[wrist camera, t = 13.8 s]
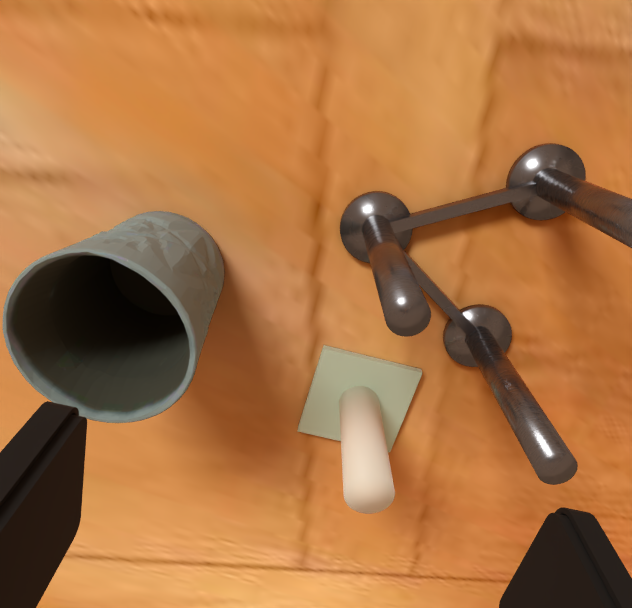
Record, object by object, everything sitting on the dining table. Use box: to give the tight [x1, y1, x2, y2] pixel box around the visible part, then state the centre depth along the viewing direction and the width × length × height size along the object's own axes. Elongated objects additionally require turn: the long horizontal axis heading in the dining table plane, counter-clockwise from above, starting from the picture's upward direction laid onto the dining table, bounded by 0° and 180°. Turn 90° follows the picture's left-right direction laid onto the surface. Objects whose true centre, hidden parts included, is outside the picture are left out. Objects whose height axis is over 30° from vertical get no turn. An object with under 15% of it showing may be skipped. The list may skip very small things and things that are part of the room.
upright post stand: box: [340, 143, 632, 485], centre depth 30 cm, size 15×17×15 cm
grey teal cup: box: [3, 211, 224, 423], centre depth 33 cm, size 10×10×12 cm
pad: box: [298, 345, 422, 452], centre depth 42 cm, size 8×8×1 cm
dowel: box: [339, 386, 395, 514], centre depth 37 cm, size 3×3×10 cm
